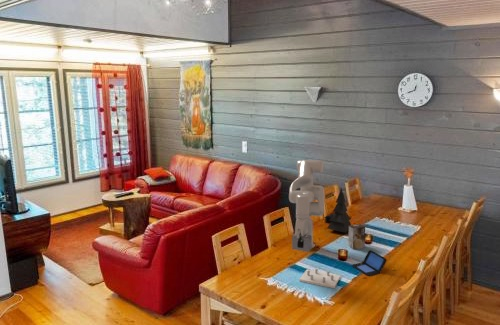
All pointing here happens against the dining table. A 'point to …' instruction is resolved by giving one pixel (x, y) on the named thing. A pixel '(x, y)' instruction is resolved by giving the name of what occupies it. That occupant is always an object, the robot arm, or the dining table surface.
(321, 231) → the dining table surface
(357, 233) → the coffee box
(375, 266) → the handheld game console
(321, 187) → the robot arm
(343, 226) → the decorative tree
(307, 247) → the block
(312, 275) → the pin tray
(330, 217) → the film camera
